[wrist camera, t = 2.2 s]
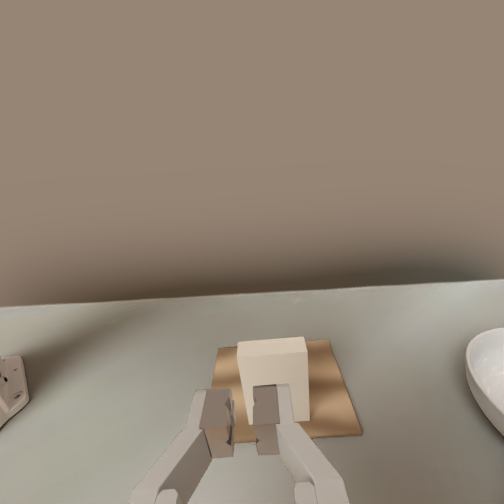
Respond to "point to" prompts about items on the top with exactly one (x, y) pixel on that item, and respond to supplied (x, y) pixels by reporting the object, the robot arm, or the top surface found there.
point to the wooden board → (320, 394)
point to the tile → (275, 371)
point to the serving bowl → (487, 374)
